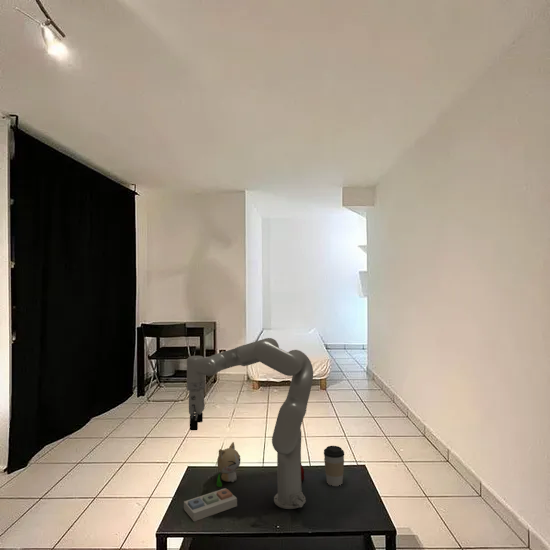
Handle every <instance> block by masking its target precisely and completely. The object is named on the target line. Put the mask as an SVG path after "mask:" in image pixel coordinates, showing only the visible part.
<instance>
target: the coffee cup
mask: <svg viewBox="0 0 550 550" xmlns="http://www.w3.org/2000/svg"><path fill="white" fill-rule="evenodd" d="M323 457H324V459H323V461H324V472H325V478H326V483H328V484H327V485H329V486H331V485H332V487H340V486H342V485H343V480H344V476H343V475H344V470H345V469H344V467H345V451H344V450H343V449H342V447H340V446H339V445H329V446H326V448H324V449H323ZM341 484H342V485H341ZM339 485H340V486H339Z"/></svg>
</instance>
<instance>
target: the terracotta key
mask: <svg viewBox="0 0 550 550" xmlns="http://www.w3.org/2000/svg"><path fill="white" fill-rule="evenodd" d="M220 490H221V489H220ZM217 491H218V490H217ZM232 494H233V493H232V492H231V491H230V490H229V489H227V488H226V489H225V490H221V491H218V492H217V496H218V497H219V498H220V499H221V500H223V499H226V498H229V497H232Z"/></svg>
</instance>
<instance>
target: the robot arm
mask: <svg viewBox="0 0 550 550" xmlns="http://www.w3.org/2000/svg"><path fill="white" fill-rule="evenodd" d="M257 363H260V364H261V363H262V365H264V366H266V367H268V368H271V369H272V370H273V371H276V372H278V373H280V374H282V375H285V376H287V377H291V380H290V383H289V389H288V392H287V396H286V398H285V400H284V401H283V402H282V404H281V406H280V408H279V410H278V413H277V416H276V421H275V426H274V429H273V431H272V432H273V433H272V436H271V444H272V447H273V449H274V451H275V452H277V453H276V455H277V456H276V457H277V460H276V464H277V466H276V468H277V474H276V475H277V493H276V494H275V495H274V496H273V503H274V504H275V505H276V506H277V507H279V508H281V509H286V510H293V509H298V508H303V506H304V504H305V503H306V502H307V500H306V496H305V495H304V494H303V492H302V482H301V465H302V430H301V428H302V424H303V421H304V418H305V416H306V413H307V407H308V403H309V398H310V395H311V389H312V386H313V381H314V368H313V365H312V362H311V359H310V358H309V357H308V356H307V354H306V353H304V352H303V351H302V350H299V349H292V350H289V351H286V350H283V349H282V348H280V345H279V343H278V342H277V340H276V339H275V338H272V337H267V338H262V339H260V340H256V341H252V342H250V343H246V344H243V345H240V346H237V347H235V348H231V349H227V350H224V351H221V352H218V353H216V354H215V353H214V354H212V355H210V356H207V357H204V356H202V355H191V356H188V358H186V390H187V391H188V414H189V430H190V431H198V427H199V425H198V424H199V423H203V417H204V416H203V411H204V410H205V408H206V407H205V389H206V384H205V383H206V378H205V376H208V377H209V376H210V377H211V376H214V375H216V374H218V373H220V372H221V371H224V370H226V369H230V368H233V367H237V366H241V367H247V366H250V365H255V364H257Z"/></svg>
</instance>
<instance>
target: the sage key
mask: <svg viewBox="0 0 550 550" xmlns="http://www.w3.org/2000/svg"><path fill="white" fill-rule="evenodd" d="M211 493H212V492H211ZM208 494H209V493H208ZM205 495H206V494H205ZM203 501H204V502H205V503H206V504H207V505H208V504H211V503H214V502H217V501H219V498H218V497H217V496H216V495H215V494H214V493H212V494H209V495H206V496H203Z"/></svg>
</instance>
